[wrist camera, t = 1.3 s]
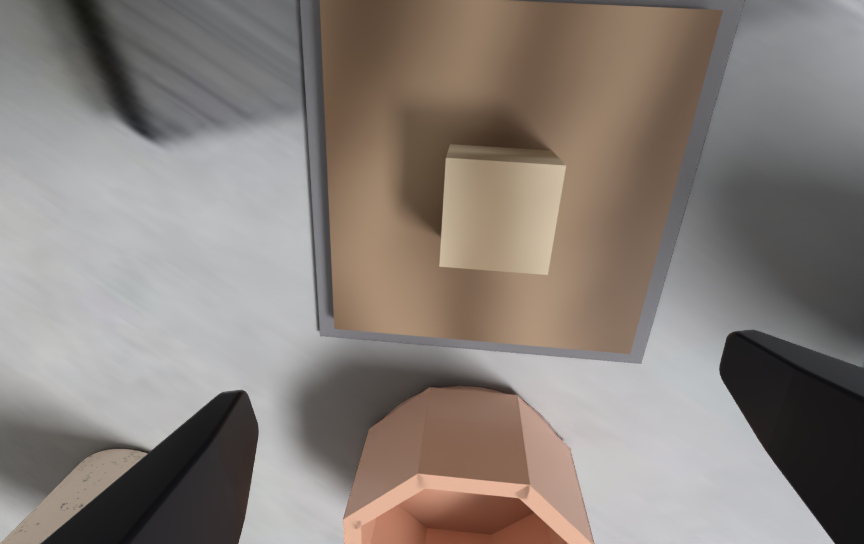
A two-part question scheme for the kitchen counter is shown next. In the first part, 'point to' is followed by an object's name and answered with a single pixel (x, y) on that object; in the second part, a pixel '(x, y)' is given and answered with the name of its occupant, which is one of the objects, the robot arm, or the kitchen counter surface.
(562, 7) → the cover
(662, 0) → the mat
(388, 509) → the bowl
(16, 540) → the teacup with lid
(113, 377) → the kitchen counter surface
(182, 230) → the kitchen counter surface
